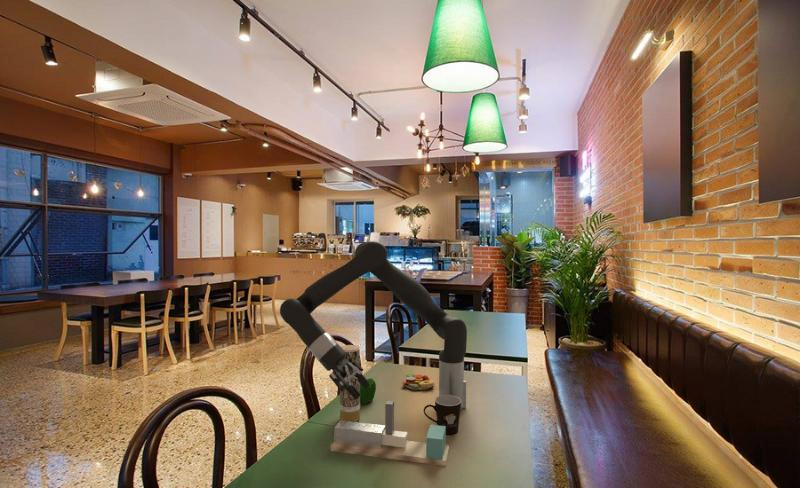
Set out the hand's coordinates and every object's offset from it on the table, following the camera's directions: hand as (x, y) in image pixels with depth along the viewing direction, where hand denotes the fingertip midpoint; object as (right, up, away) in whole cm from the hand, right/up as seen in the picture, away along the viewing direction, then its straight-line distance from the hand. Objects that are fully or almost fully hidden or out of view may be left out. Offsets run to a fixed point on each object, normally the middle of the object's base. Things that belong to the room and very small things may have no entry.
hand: (363, 391), depth 117 cm
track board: (+8, -17, -2) cm, 19 cm away
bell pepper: (-3, -16, +34) cm, 38 cm away
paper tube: (-6, -17, +18) cm, 25 cm away
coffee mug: (+25, -17, +11) cm, 32 cm away
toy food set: (+19, -16, +50) cm, 55 cm away
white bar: (+3, -14, -1) cm, 15 cm away
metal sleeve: (-1, -15, 0) cm, 15 cm away
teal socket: (+21, -15, -5) cm, 27 cm away
